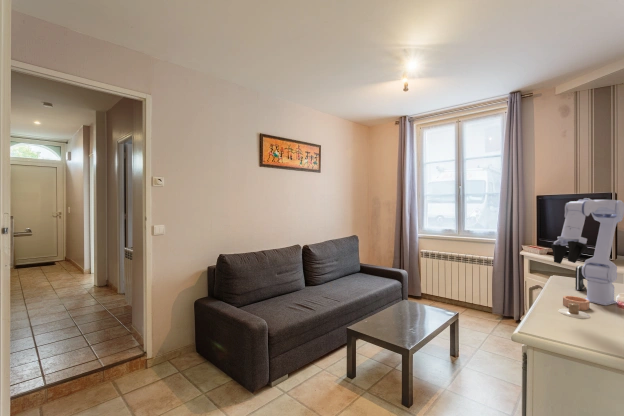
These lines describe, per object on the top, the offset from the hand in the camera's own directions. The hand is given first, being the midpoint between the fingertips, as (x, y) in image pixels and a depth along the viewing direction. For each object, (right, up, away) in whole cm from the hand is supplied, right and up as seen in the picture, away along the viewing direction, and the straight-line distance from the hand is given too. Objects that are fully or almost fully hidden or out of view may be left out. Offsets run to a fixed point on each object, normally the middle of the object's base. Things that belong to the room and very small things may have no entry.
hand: (564, 262), depth 112 cm
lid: (+4, -20, +1) cm, 21 cm away
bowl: (+12, -20, +8) cm, 25 cm away
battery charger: (+35, -19, +30) cm, 49 cm away
